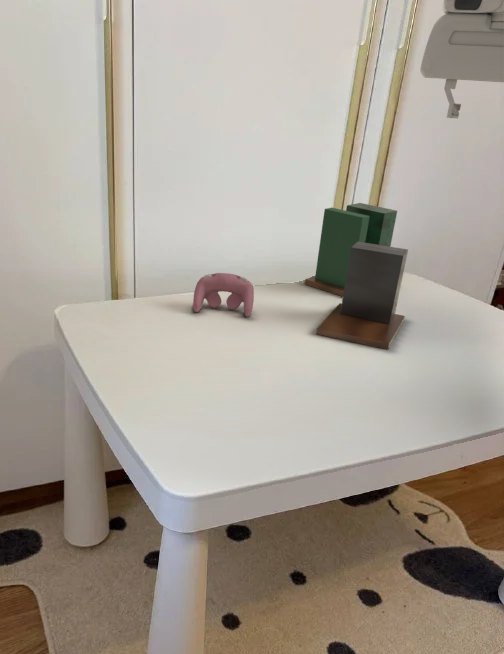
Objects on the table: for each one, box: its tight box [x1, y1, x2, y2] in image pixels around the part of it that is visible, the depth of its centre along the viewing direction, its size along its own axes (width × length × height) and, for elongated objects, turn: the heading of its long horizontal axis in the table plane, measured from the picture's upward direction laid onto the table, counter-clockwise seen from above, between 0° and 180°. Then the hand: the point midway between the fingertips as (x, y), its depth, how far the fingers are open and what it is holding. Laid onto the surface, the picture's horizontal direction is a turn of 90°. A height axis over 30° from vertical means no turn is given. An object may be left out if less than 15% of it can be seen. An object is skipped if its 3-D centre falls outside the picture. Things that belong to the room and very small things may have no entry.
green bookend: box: [304, 202, 398, 297], centre depth 117 cm, size 11×14×14 cm
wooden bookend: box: [316, 242, 409, 350], centre depth 98 cm, size 11×14×12 cm
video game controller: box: [192, 272, 255, 317], centre depth 104 cm, size 10×5×7 cm, turn 83°
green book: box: [314, 207, 370, 288], centre depth 114 cm, size 8×2×13 cm, turn 44°
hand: (489, 120), depth 85 cm, fingers open, 8 cm apart
